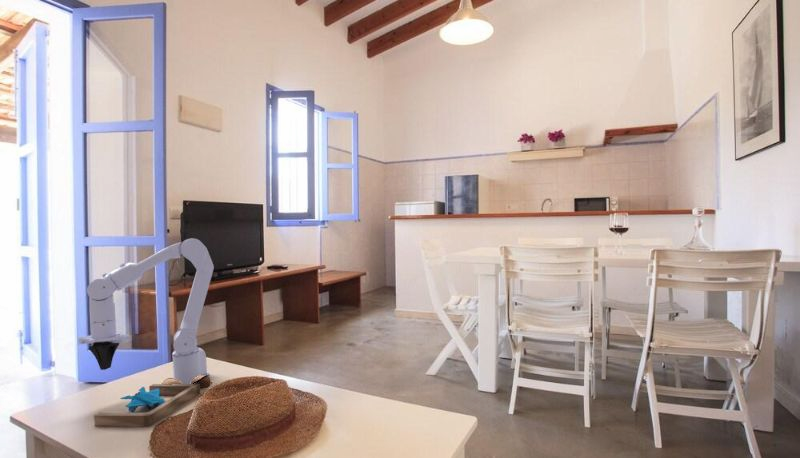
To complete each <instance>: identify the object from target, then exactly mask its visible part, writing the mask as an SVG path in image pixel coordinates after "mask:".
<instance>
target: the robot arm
mask: <svg viewBox="0 0 800 458" xmlns="http://www.w3.org/2000/svg"><path fill="white" fill-rule="evenodd" d="M181 255H182V256H183V257H184V258H185V259H186V260H189V261H190V262H191V263H192V265H193V266H194V268H195V269H196V272H195V275H194V280H193V282H192V286H191V289H190V293H189V295H188V296H189V297H188V299H187V303H186V307H185V310H184V314H183V317H182V320H181V323H180V327H179V329H178V330H177V331H176V332H175V333H174V335H173V347H172V348H173V352H172V353H171V355H172V370H173V380H174V379H177V380H179V381H181V382H182V383H183V384H190V382H191V381H192V380H193V379H194V378H195V377H197V376H199V375H207V376H209V375H210V372H208V367H207V355H206V354H207V353H206V352H205V350H204V349H203V348H201V347H199V346H198V339H197V334H198V328H199V323H200V319H201V316H202V312H203V308H204V304H205V301H206V297H207V295H208V290H209V287H210V283H211V280H212V276H213V273H214V268H215V266H214V264H213V263H214V262H213V260H212V258H211V255H210V253H209V251H208V248H207V247H206V245H204V243H203V242H202V241H201V240H199V239H198V238H187V239H185V240H184V241H180V242H177V243H174V244H172V245H169V246H167V247H165V248H162V249H161V250H160V251H157V252H155V253H154V254H152V255H150V256H149V257H147V258H145V259H143V260H142V261H139V262H137V263H134V262H127V263H125V262H123V263H121V264H120V265H119V267H118V268H116V269H114V270H112V271H110V272H109V273H106V272H104V273H102V274H101V276H102V277H101V278H100V277H99V278H96V279H94V280H93V281H91V282H90V283H89V284H88V285H87V288H86V292H87V296H88V297H89V322H90V335H82V336H79V337H78V338H77V340H78V341H77V343H78V345H84V344H85V345H86V344H87V345H88V344H92V345H91V346H89V347H88V350H89V351H90V352H91V354H92V355H93V356H94V357H95V359H96V362H97V364H98V366H99V369H100V371H102V370H103V371H105V370H108V369H109V368H111V367H112V364H113V358H114V355H115V352H116V351H117V349H118V347H119V345H120V344H126V343H129V342H131V335H130V334H124V333H117V324H116V323H117V322H116V320H117V319H116V307H115V306H116V305H115V304H116V303H115V301H114V293H115V291H118V292H119V291H122V290H123V289H125V288H127V287H129V286H131V285H132V284H134V283H136V282H138V281H139V280H141V279H142V278H143V274H144V272H146V271H148V270H150V269H152V268H154V267H156V266H158V265H160V264H162V263H164V262H166V261H168V260H172V259H181V257H182V256H181Z"/></svg>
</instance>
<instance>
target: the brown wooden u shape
mask: <svg viewBox="0 0 800 458" xmlns="http://www.w3.org/2000/svg"><path fill="white" fill-rule="evenodd" d="M162 384H163V383H153V384H150V385H149V386H148V388H149V391H152V390H155V389H160V390H161V392H160V395H159V396H173V397H170V399H168V400H165V403H163V404H161V405H160V406H158V407H154V408H153V409H152V410H150V411H148V412H98V413H96V414H94V415H93V420H94V421H93V422H94V427H151V426H153V425H154V424H156V423H157V422H159V421H160V420H161V419H162V418H164V417H166V416H167V415H169V414H171V413H172V412H173V411H175V410H176V409H178V408H179V407H181V406H183V405H184V404H186V403H187V402H188V401H190V400H191V399H193V398H194V397H196V396H198V395H199V394H201V384H200V383H194V384H172V385H162ZM163 388H166V391H164V390H163ZM149 391H148V392H149Z"/></svg>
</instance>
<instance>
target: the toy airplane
mask: <svg viewBox="0 0 800 458" xmlns="http://www.w3.org/2000/svg"><path fill="white" fill-rule="evenodd" d="M160 392H161V390H160V389H155V390H152V391H146V388H145V386H142V387H141V388H140V389H138V392H136V393H134V395H126V396H123V397H120V398H119V399H121V400H130V402H128V403H127V404H126V405H125V407H126V408H128V412H130V413H135V411H136V409H138V408H139V407H143V406H149V407H152V408H157V407H158V406H160V405H161V404H163V403H165V402H166V400H164V398H163V397H161V395H160Z"/></svg>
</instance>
